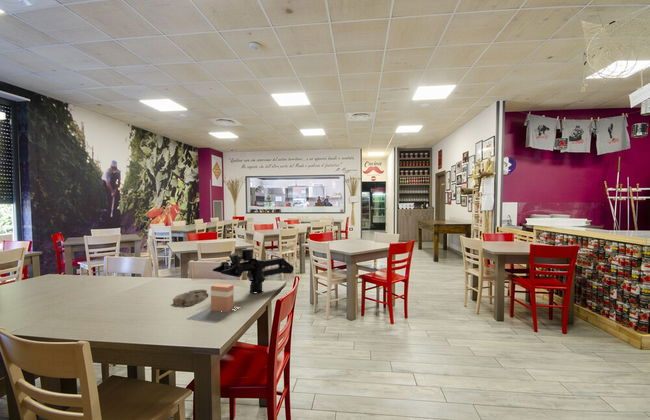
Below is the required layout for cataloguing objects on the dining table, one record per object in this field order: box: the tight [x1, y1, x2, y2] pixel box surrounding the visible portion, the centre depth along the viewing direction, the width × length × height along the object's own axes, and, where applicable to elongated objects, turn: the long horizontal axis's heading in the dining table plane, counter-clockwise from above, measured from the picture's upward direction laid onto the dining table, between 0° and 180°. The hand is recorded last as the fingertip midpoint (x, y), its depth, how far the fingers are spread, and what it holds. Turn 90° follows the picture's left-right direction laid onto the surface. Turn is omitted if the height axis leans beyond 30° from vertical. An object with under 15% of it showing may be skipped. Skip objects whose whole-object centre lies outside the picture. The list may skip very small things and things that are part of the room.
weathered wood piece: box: [172, 289, 209, 307], centre depth 160 cm, size 14×5×20 cm
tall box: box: [210, 283, 235, 312], centre depth 143 cm, size 5×10×12 cm, turn 74°
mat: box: [186, 305, 242, 324], centre depth 139 cm, size 22×16×1 cm
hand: (216, 271), depth 157 cm, fingers open, 9 cm apart
